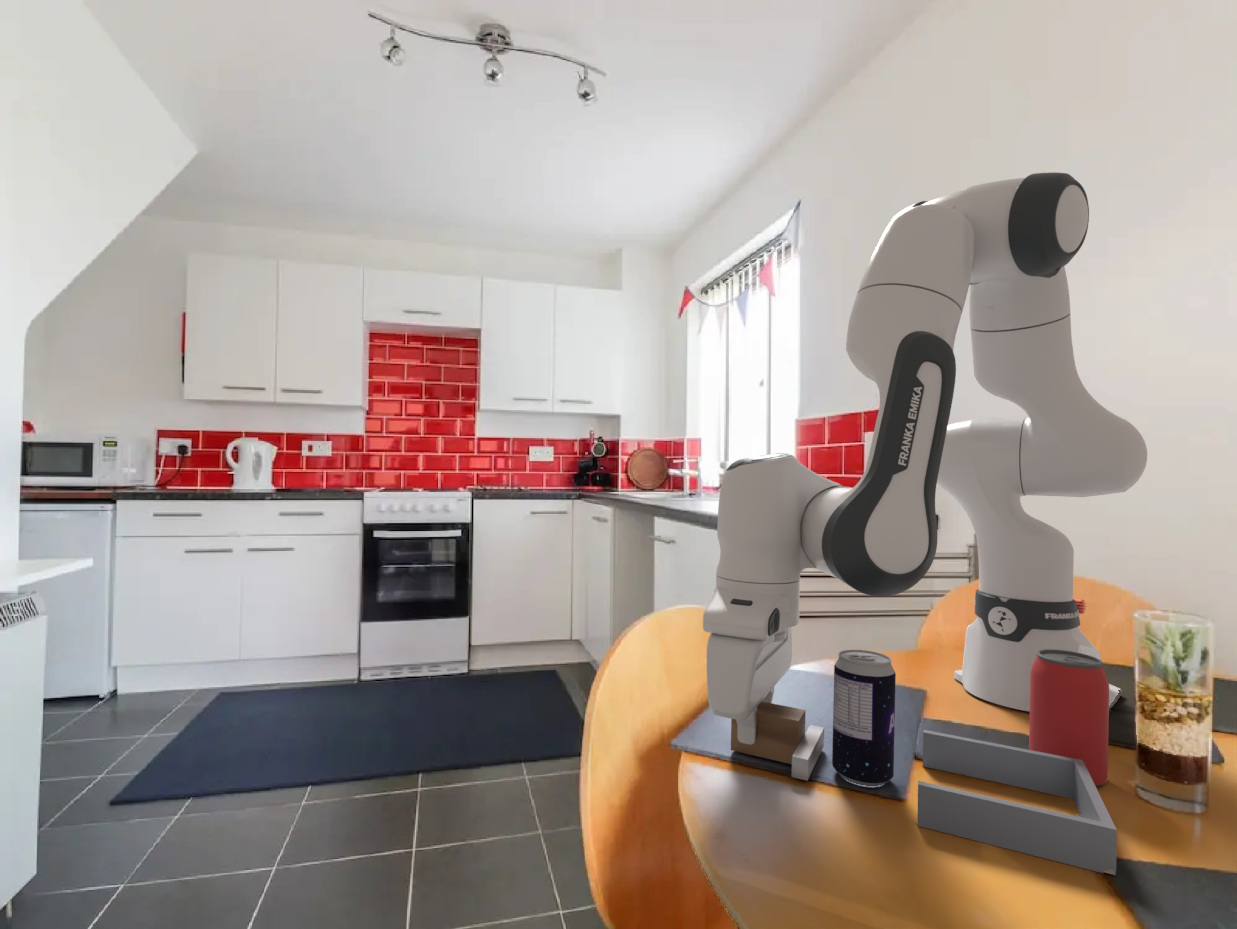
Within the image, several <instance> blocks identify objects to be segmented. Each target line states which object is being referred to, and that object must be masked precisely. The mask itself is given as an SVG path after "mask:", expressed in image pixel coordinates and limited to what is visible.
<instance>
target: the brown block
mask: <svg viewBox="0 0 1237 929" xmlns="http://www.w3.org/2000/svg"><path fill="white" fill-rule="evenodd" d="M730 721H731V722H730V723H731V724H730V725H731V726H730V734H731V735H730V751H734V752H737V753H742V754H746V755H751V756H755V757H758V758H759V757H760V758H763V759H768V760H770V761H771V760H772V761H776V762H780V763H785V764H788V765H791V777H792V778H794V779H799V780H802V781H803V780H804V781H807V782H808V780H809V778H810V777H811V774H812V772H813V770H814V767H816V763H817V762H818V759H819V757H820V755H821V754H822V751H823V748H824V746H825V727H823V726H818V725H813V724H810V725H809V726H808V727H807V730H806V709H804V708H803V709H802V708H798V707H791V706H787V705H782V704H777V703H776V704H775V703H773V702H772V703H767V702H762V701H761V703H760V704H759V705H758V706H757V711H756V723H758V738H757V739H756V741H755V742H754V744H752V745H750V744H745V743H741V742H740V741H739V740H738V738H737V735H738V725H737V722H736V719H731V720H730Z"/></svg>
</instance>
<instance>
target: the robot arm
mask: <svg viewBox="0 0 1237 929" xmlns="http://www.w3.org/2000/svg"><path fill="white" fill-rule="evenodd" d="M1089 221H1090V206H1089V199H1088V196H1087V193H1086V190H1085V189H1084V187H1083V185H1082V184H1081V183H1080V182H1079V181H1078V180H1076V179H1075V177H1073V176H1072V175H1071V174H1069V173H1066V172H1036V173H1031V174H1029V175H1027V176H1026V177H1020V178H1011V179H1003V180H997V181H991V182H985V183H981V184H976V185H972V186H970V187H967V189H963V190H959V191H955V192H952V193H949V194H946V195H943V196H940V197H937V198H935V199H934V198H933V199H932V200H922V201H919V202H916V203H913V204H912V205H909V206H907V207H905V208H904V209H902V210H900V211H899V212H898V213H896V214H895V215H894V216H893V217H892V218H891V220H890V222H889V223H888V225H887V226H886V228H885V230H884V231H883V233H882V235H881V237H880V239H879V240H878V243H877V245H876V246H875V248H874V250H873V252H872V255H871V257H870V259H869V261H868V263H867V266H866V269H865V271H864V273H863V276H862V277H861V282H860V284H859V287H858V290H857V293H856V296H855V299H854V303H853V305H852V309H851V313H850V315H849V320H848V325H847V332H846V344H845V345H846V346H845V350H846V352H847V356H848V357H849V359H850V362H852V364H853V366H854V367H855V368H856V369H857V371H859V372H860V373H861V374H862V375H863V376H864V377H866V378H867V379H870V380H871V381H873V382H875V384H876V385H877V388H878V392H879V406H878V407H879V408H878V412H877V416H876V420H875V426H874V429H873V430H874V431H873V434H872V439H871V444H870V448H869V453H868V458H867V461H866V466H865V470H864V472H863V475H862V476H861V477H860V480H859V481H858V482H857V483H856V484H855V485H854V486H853V487H851V486H844V485H842V484H840V483H839V482H836V481H833V480H831V479H829V478H826V477H824V476H823V475H820V474H819V473H817V472H814V471H813V470H811V469H809V467H806V466H805V465H804V464H802V463H801V462H800V461H799V460H798V459H797V458H796V457H795V456H794V455H793V454H789V453H772V454H764V455H756V456H751V457H745V458H742V459H741V458H740V459H739V460H735V461H733V462H732V463H731V464H730V465H729V466H728V467H727V468H726V469H725V471H724V473H723V477H722V479H721V483H720V484H721V485H720V491H719V499H718V507H717V508H718V511H717V524H716V525H717V527H716V528H717V529H716V530H717V531H716V534H717V539H718V540H717V541H718V543H719V548H720V550H719V551H720V555H719V556H720V557H719V561H718V564H717V566H716V567H717V568H716V573H715V576H716V577H715V588H714V592H713V595H712V598H711V600H710V602H709V603H708V605H707V606H706V608H705V610H704V611H703V615H702V630H703V631H704V632H705V633H710V634H709V636H708V639H707V645H706V690H707V691H706V692H707V693H706V694H707V702H708V705H709V708H710V710H711V713H712V714H713V715H715V716H717V717H718V716H719V717H723V718H726V719H736V722H737V725H738V735H737V738H738V740H739V741H740V742H741V743H745V744H750V745H752V744H754V742H755V741H756V739H757V738H758V723H756V711H757V706H758V705H759V704H760V703H761V701H762V702H767V703H772V704H773V698H774V693H775V687H776V685H777V684H778V683H779V682H780V681H781V679H782V678H783V677H784V675H785V674H786V673H787V672H788V671H789V670H790V669H791V665H792V658H793V636H792V634H793V633H792V632H793V631H792V628H793V627H795V626H797V625H798V624H799V623H800V593H801V592H800V591H801V588H800V587H801V573H802V572H803V571H804V570H806V569H816V570H819V571H820V572H822V573H824V574H826V575H828V576H831V577H833V578H836V579H839V580H840V581H842V583H845V584H846V585H847V586H849V587H850V588H852V589H854V590H855V591H857V592H860V593H862V594H864V595H868V596H870V597H871V596H872V597H891V596H894V595H895V596H896V595H898V594H901V593H904V592H905V591H908V590H910V589H911V588H913V587H914V586H915V585H917V584H918V583H919V582H920V581H921V580H922V579H923V578H924V577H925V575H926V574H927V573H928V571H929V569H931V567H932V565H933V562H934V560H935V557H936V553H937V550H938V525H937V513H936V512H937V511H936V492H937V490H936V489H937V485H938V486H939V487H941V488H942V489H944V491H947V492H948V494H950V495H951V496H953V498H954V499H955V500H956V501H957V502H958V504H960V505H961V507H962V508H963V510H964V511H965V512H966V514H967V516H968V518H969V520H970V522H971V524H972V527H973V530H974V533H975V538H976V544H977V554H978V555H977V556H978V558H977V559H978V588H977V589H976V590H975V595H974V596H975V597H974V598H973V604H974V614H975V615H976V616H977V617H976V619H975V620H974V621H972V623H970V624H968V626H966V631H965V638H964V648H963V657H962V669H956V670H954V675H953V678H954V679H955V680H956V681H958V682H960V683H962V685H963V688H964V689H965V690H966V692H968V693H969V694H971V695H973V696H975V697H976V698H979V699H982V700H983V701H987V702H990V703H992V704H996V705H999V706H1002V707H1006V708H1011V709H1015V710H1020V711H1024V712H1029V713H1030V671H1031V668H1032V665H1033V663H1034V661H1035V659H1036V657H1037V654H1036V652H1038V651H1039V650H1044V649H1055V650H1065V651H1072V652H1077V653H1082V654H1086V655H1090V656H1093V657H1096V658H1098V659H1099V660H1101V661H1102V656H1101V653H1100V650H1098V649H1097V648H1096V647H1095V646H1094V645H1093V644H1092V642H1091V641H1090V640H1089V639H1088V638H1087V636H1086V635H1085V634H1084V633H1083V631H1081V629H1080V627H1079V626H1081V620H1080V615H1083V614H1084V613H1085V611H1086V607H1087V605H1086V604H1087V603H1086V601H1085V600H1084V599H1082V598H1080V599H1079V598H1074V592H1073V591H1074V557H1075V555H1074V554H1075V552H1074V550H1075V549H1074V547H1073V544H1072V542H1071V541H1070V539H1069V538H1068V536H1066V535H1065V533H1063V532H1061V530H1059V529H1057V528H1056V527H1054V526H1052V525H1049V524H1048V523H1046V522H1044V521H1043V520H1040V519H1038V518H1035V517H1033V516H1032V515H1029V514H1028V513H1026V511H1025V510H1024V508H1023V505H1022V503H1021V498H1022V497H1025V496H1038V497H1039V496H1041V497H1043V496H1044V497H1064V498H1065V497H1068V498H1069V497H1071V498H1073V497H1074V498H1087V497H1096V496H1106V495H1111V494H1119V493H1125V492H1127V491H1128V490H1130V489H1131V488H1132V487H1133V486H1135V485H1136V483H1137V482H1138V481H1139V480H1140V478H1141V477H1142V475H1143V474H1144V472H1145V469H1146V467H1147V462H1148V448H1147V444H1146V440H1144V438H1143V435H1142V434H1141V433H1140V431H1139V430H1138V429H1137V427H1135V426H1134V425H1133V423H1131V422H1130V421H1129V420H1127V419H1124V418H1122V417H1121V416H1119V415H1116V414H1114V413H1113V412H1111V411H1110V410H1108V409H1107V408H1106V407H1104V406H1103V405H1102V404H1100V403H1099V402H1098V401H1097V400H1096V399H1095V398H1094V397H1093V396H1092V394H1091V393H1089V391H1088V390H1087V389H1086V387H1085V385H1084V384H1083V382H1082V381H1081V379H1080V378H1081V377H1080V376H1079V372H1078V370H1077V366H1076V361H1075V356H1074V355H1075V354H1074V347H1073V338H1072V336H1073V335H1072V321H1071V301H1070V290H1069V283H1068V277H1067V271H1066V268H1065V266H1067V265H1068V264H1069V263H1070V262H1071V261H1072V259H1073V258H1075V256H1076V255H1077V254H1078V253H1079V250H1080V249H1081V248H1082V247H1083V245H1084V242H1085V240H1086V237H1087V233H1088V228H1089ZM968 291H969V302H968V303H969V326H970V327H969V328H970V338H971V350H972V364H973V365H972V366H973V375H974V378H975V379H976V381H977V383H978V384H979V385H980V387H982V388H983V389H984V390H985V391H986V392H988V393H989V394H991V395H993V396H995V397H999V398H1001V399H1003V400H1006V401H1010V402H1012V403H1014V404H1015V405H1016V406H1018V407H1019V408H1021V409H1022V410H1023V411H1024V412H1025V413H1026V415H1027V416H1020V417H1019V416H1017V417H1016V416H1015V417H994V418H993V417H990V418H989V417H987V418H972V419H966V420H961V421H956V422H952V423H949V421H950V415H951V409H952V405H953V399H954V393H955V385H956V376H957V375H956V374H957V363H956V362H957V361H956V357H955V353H954V348H955V341H956V337H957V336H956V335H957V331H958V328H959V325H960V321H961V317H962V314H963V310H964V307H965V303H966V301H967V295H968ZM1118 690H1121V691H1122V689H1121V688H1120V687H1117V686H1115V685H1113V684H1110V683H1109V707H1110V705H1111V703H1112V702H1113V701H1114V699H1115V697H1116V696H1117V695H1118V693H1119V691H1118Z"/></svg>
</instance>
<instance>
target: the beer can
mask: <svg viewBox="0 0 1237 929" xmlns="http://www.w3.org/2000/svg"><path fill="white" fill-rule="evenodd" d="M1036 654H1037V657H1036V659H1035V661H1034V663H1033V665H1032V668H1031V671H1030V712H1029V728H1028V730H1029V732H1028V733H1029V734H1028V737H1029V738H1028V750H1032V751H1038V752H1043V753H1048V754H1053V755H1059V756H1064V757H1069V758H1074V759H1079V760H1083V762H1084V764H1085V766H1086V768H1087V770H1088V772H1089V774H1090V776H1091V778H1092V780H1093V782H1094V784H1095V786H1096V787H1098V786H1099V787H1100V786H1102V785H1104V784H1105V783H1106V781H1108V779H1109V777H1108V776H1109V736H1110V735H1109V734H1110V733H1109V732H1110V731H1109V729H1110V728H1109V726H1110V725H1109V724H1110V723H1109V722H1110V718H1109V716H1110V712H1109V684H1110V683H1109V679H1108V677H1107V675H1106V671H1105V670H1104V668H1103V665H1104V662H1103V661H1102V659H1101V660H1099V659H1098V658H1096V657H1093V656H1090V655H1086V654H1082V653H1077V652H1072V651H1065V650H1055V649H1044V650H1039V651H1038V652H1036Z"/></svg>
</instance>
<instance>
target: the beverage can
mask: <svg viewBox="0 0 1237 929" xmlns="http://www.w3.org/2000/svg"><path fill="white" fill-rule="evenodd" d="M896 676H897V675H896V671H895V669H894V667H893V665H892V659H891V657H889V656H887V655H886V654H883V653H880V652H876V651H871V650H866V649H864V650H863V649H845V650H841V651H840V652H838V658H837V660H836V662H835V663H834V665H833V703H832V704H833V705H832V706H833V708H832V709H833V712H832V713H833V714H832V717H833V718H832V754H831V756H832V759H831V760H832V761H831V762H832V763H831V765H832V767H833V768H834V769H835V771H836V772H837V773H838V774H839V776H840V775H841V776H842V777H843V778H844V779H846V780H848V781H850V782H853V783H856V784H860V785H866V786H878V785H882V784H884V783H885V784H886V783H887V782H889V781H890V780H892V779H893V777H894V775H895V774H894V773H895V770H894V768H895V765H894V763H895V729H896V728H895V726H896V725H895V722H896V720H895V718H896V680H897V679H896V678H897V677H896ZM841 776H840V777H841ZM885 784H884V785H885Z"/></svg>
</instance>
